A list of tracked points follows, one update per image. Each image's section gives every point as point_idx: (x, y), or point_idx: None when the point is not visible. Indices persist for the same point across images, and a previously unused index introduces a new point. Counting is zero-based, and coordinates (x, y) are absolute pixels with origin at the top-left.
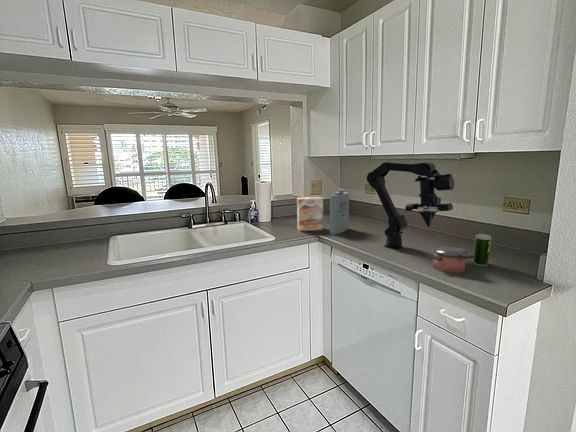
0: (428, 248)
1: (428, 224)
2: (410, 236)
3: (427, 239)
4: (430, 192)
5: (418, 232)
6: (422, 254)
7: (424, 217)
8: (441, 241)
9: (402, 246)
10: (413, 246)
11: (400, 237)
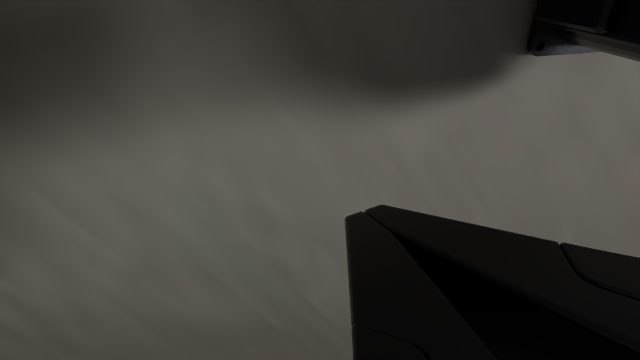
0: (374, 195)
1: (369, 228)
2: None
3: None
4: None
5: None
6: (306, 25)
7: (617, 302)
8: None
9: (532, 42)
10: (473, 143)
11: (626, 21)
